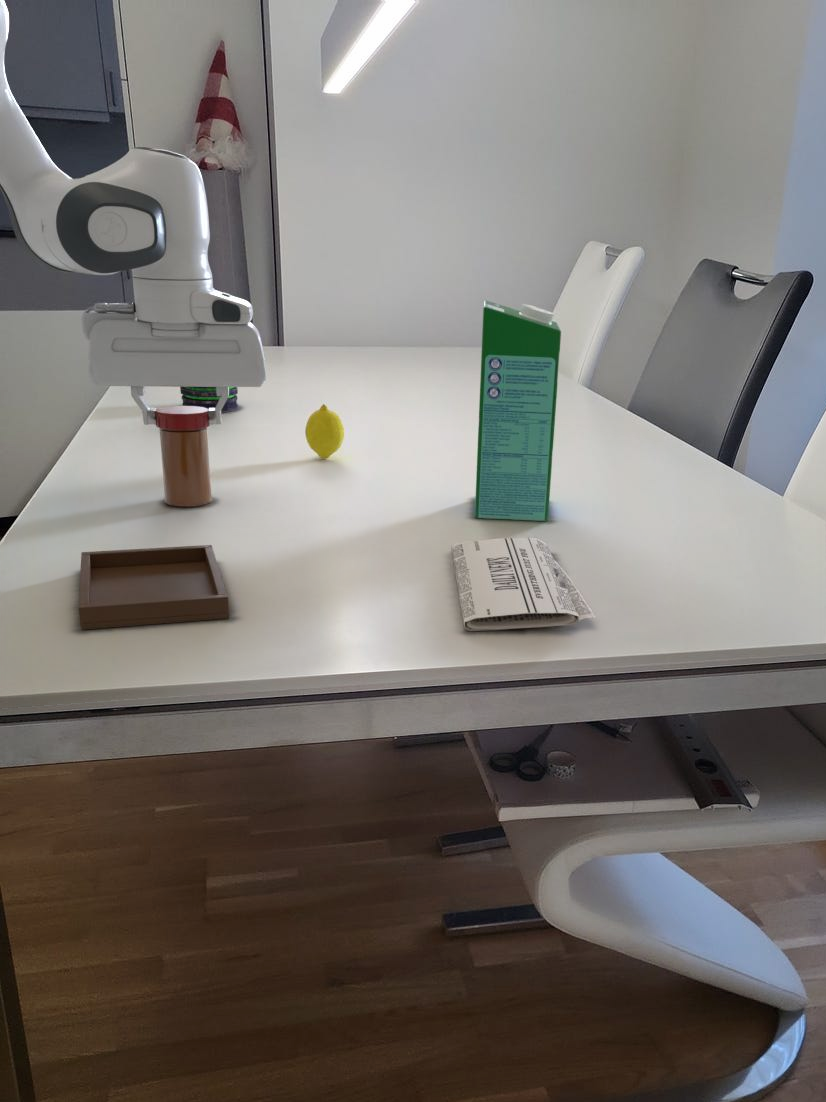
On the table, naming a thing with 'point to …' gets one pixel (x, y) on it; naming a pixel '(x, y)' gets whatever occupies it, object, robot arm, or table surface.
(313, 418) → the fruit
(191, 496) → the jar
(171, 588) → the tray
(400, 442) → the table surface
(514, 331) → the milk carton
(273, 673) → the table surface
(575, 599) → the newspaper
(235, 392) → the dark purple barrel
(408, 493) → the table surface
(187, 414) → the lid
